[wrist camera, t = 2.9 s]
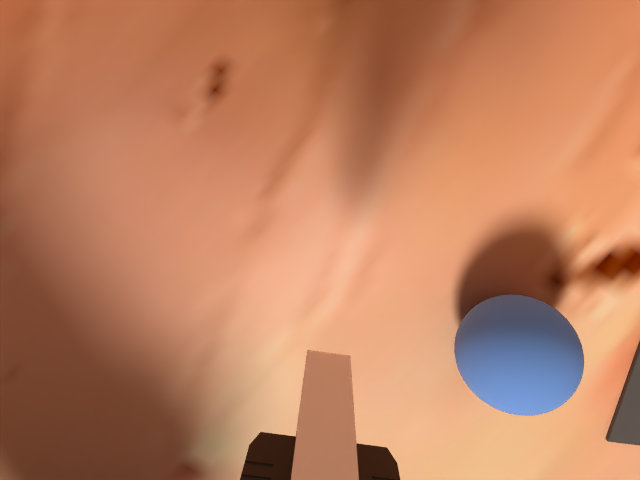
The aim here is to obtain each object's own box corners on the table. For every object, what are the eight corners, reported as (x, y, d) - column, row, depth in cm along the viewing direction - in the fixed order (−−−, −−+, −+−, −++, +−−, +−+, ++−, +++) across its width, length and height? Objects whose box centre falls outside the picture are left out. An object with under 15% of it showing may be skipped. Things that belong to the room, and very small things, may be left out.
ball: (432, 365, 23) (464, 435, 18) (453, 272, 22) (493, 317, 16) (530, 377, 23) (591, 451, 18) (556, 285, 22) (631, 334, 16)
